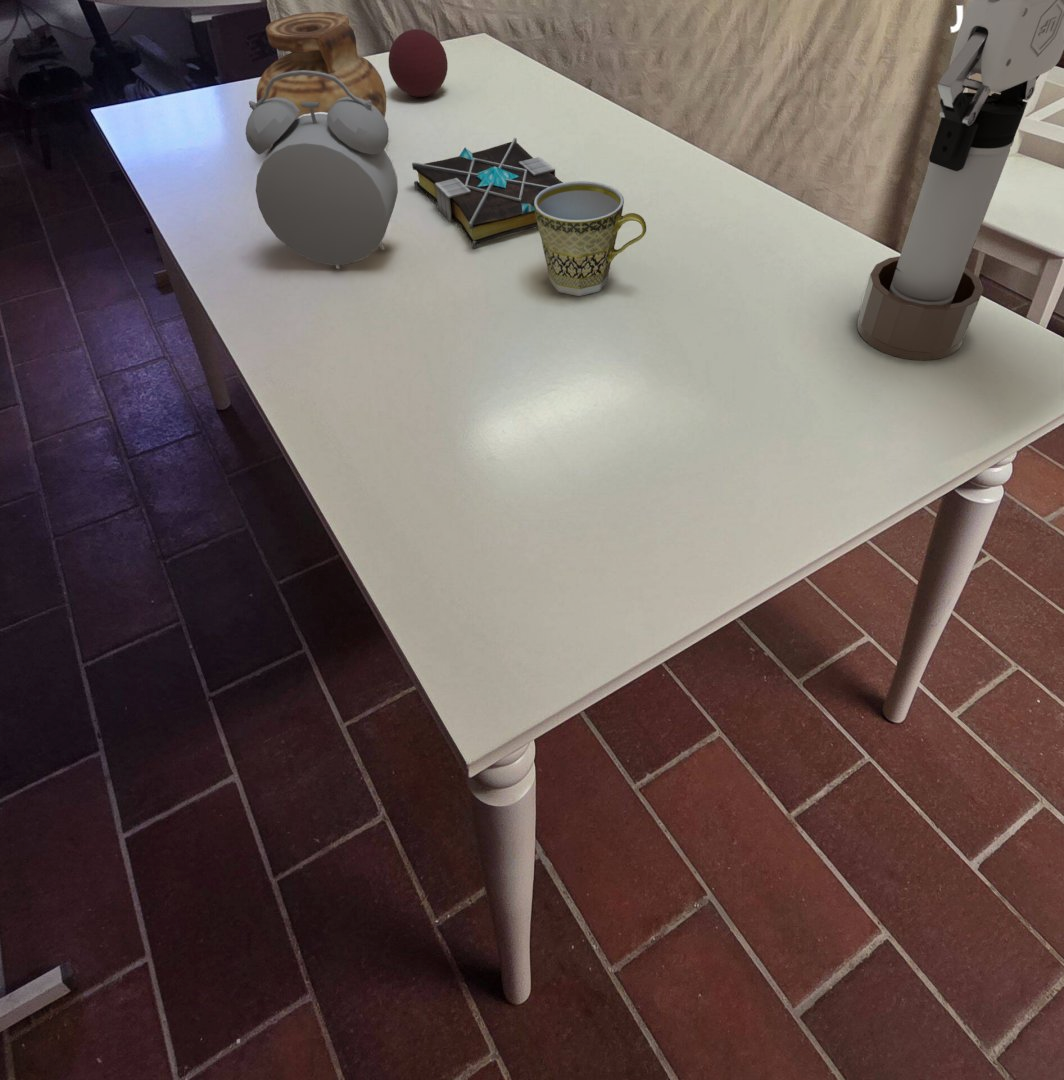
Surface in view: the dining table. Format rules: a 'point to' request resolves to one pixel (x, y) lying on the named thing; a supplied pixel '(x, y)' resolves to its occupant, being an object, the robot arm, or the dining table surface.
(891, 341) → the holder
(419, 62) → the decorative ball
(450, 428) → the dining table surface
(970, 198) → the travel mug
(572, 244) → the ceramic cup
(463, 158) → the book
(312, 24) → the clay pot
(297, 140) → the alarm clock
